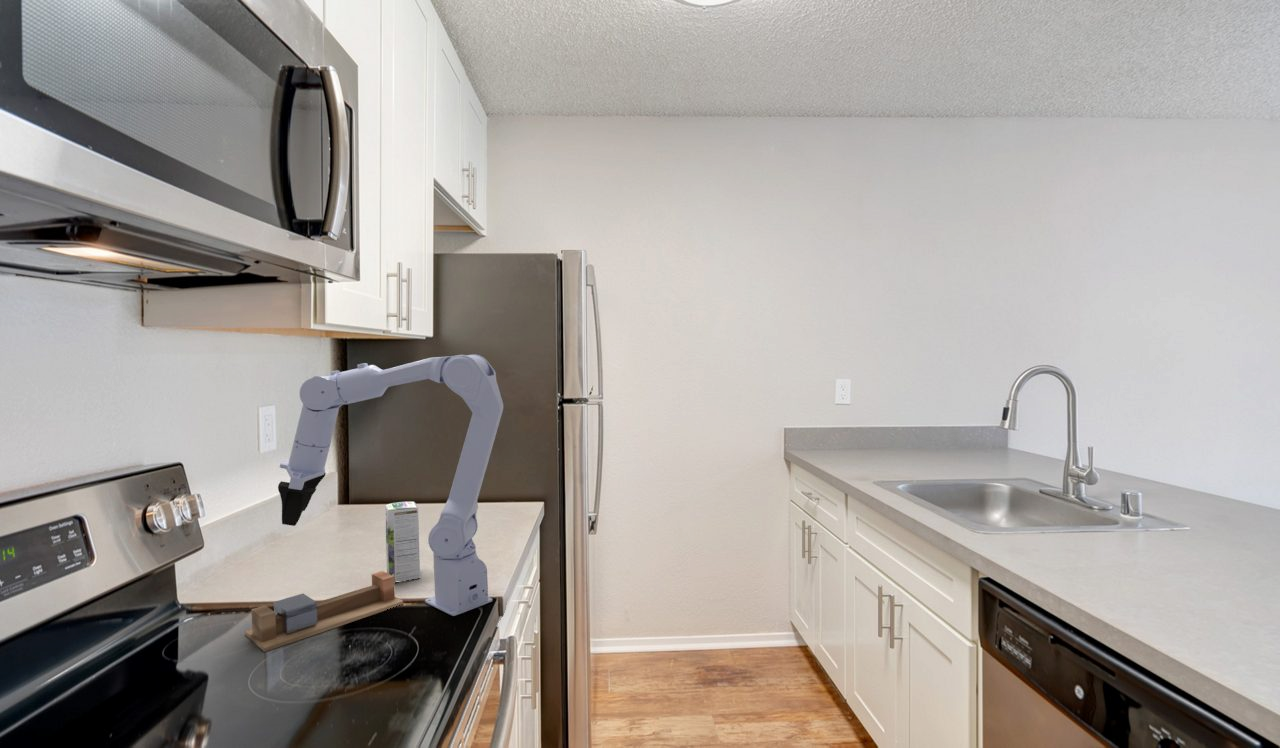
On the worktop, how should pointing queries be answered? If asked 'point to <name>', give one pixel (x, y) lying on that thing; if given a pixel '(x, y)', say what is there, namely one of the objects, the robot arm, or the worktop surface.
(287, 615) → the slider
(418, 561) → the syrup box
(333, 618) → the rail
